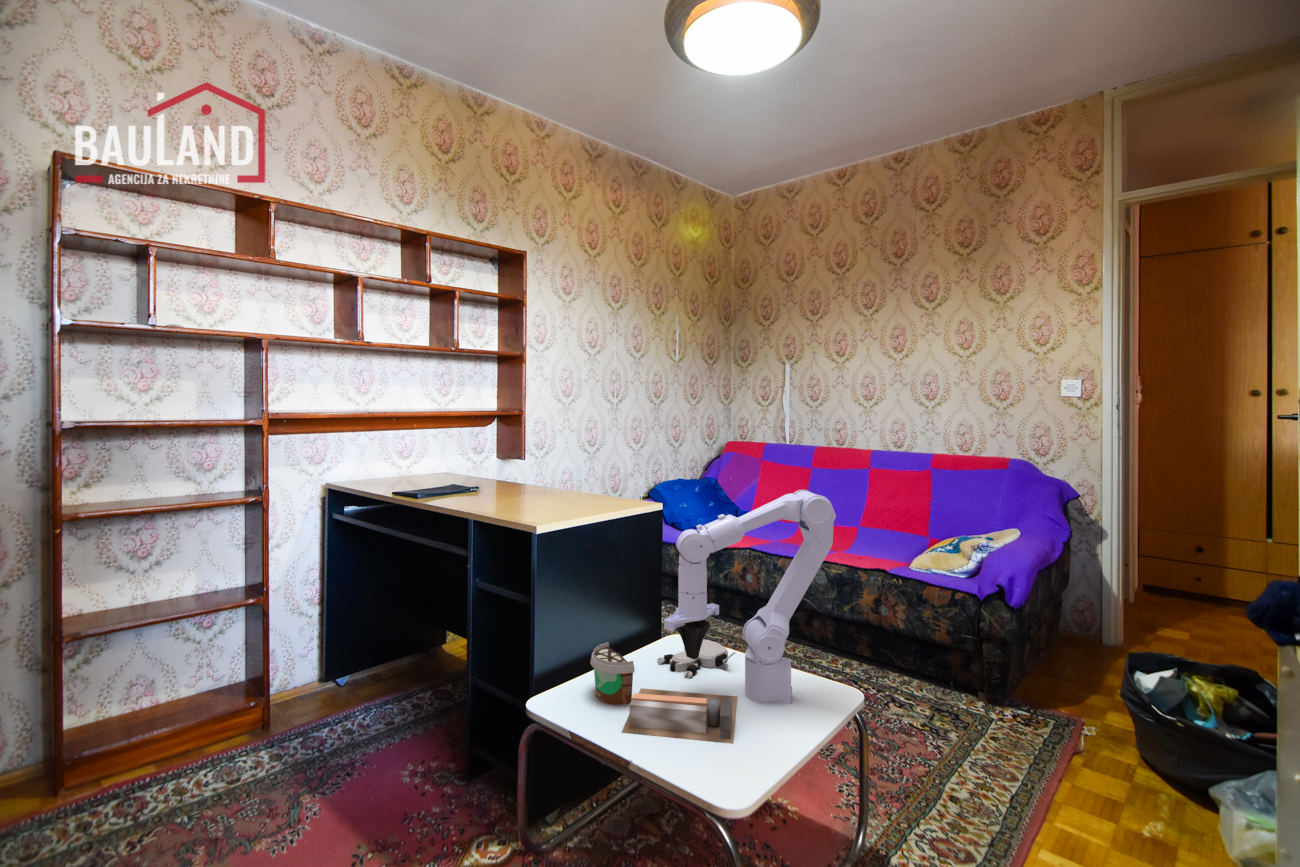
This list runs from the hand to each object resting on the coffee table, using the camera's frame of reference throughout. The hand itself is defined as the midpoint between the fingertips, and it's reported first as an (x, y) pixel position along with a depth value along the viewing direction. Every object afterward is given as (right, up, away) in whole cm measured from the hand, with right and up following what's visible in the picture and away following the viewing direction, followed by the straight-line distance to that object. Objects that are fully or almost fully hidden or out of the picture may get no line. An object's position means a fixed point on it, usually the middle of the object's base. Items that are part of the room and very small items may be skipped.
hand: (692, 657), depth 124 cm
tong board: (-2, -10, -6) cm, 12 cm away
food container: (-17, -10, 0) cm, 20 cm away
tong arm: (-4, -8, -9) cm, 13 cm away
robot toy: (+2, -9, +18) cm, 20 cm away
